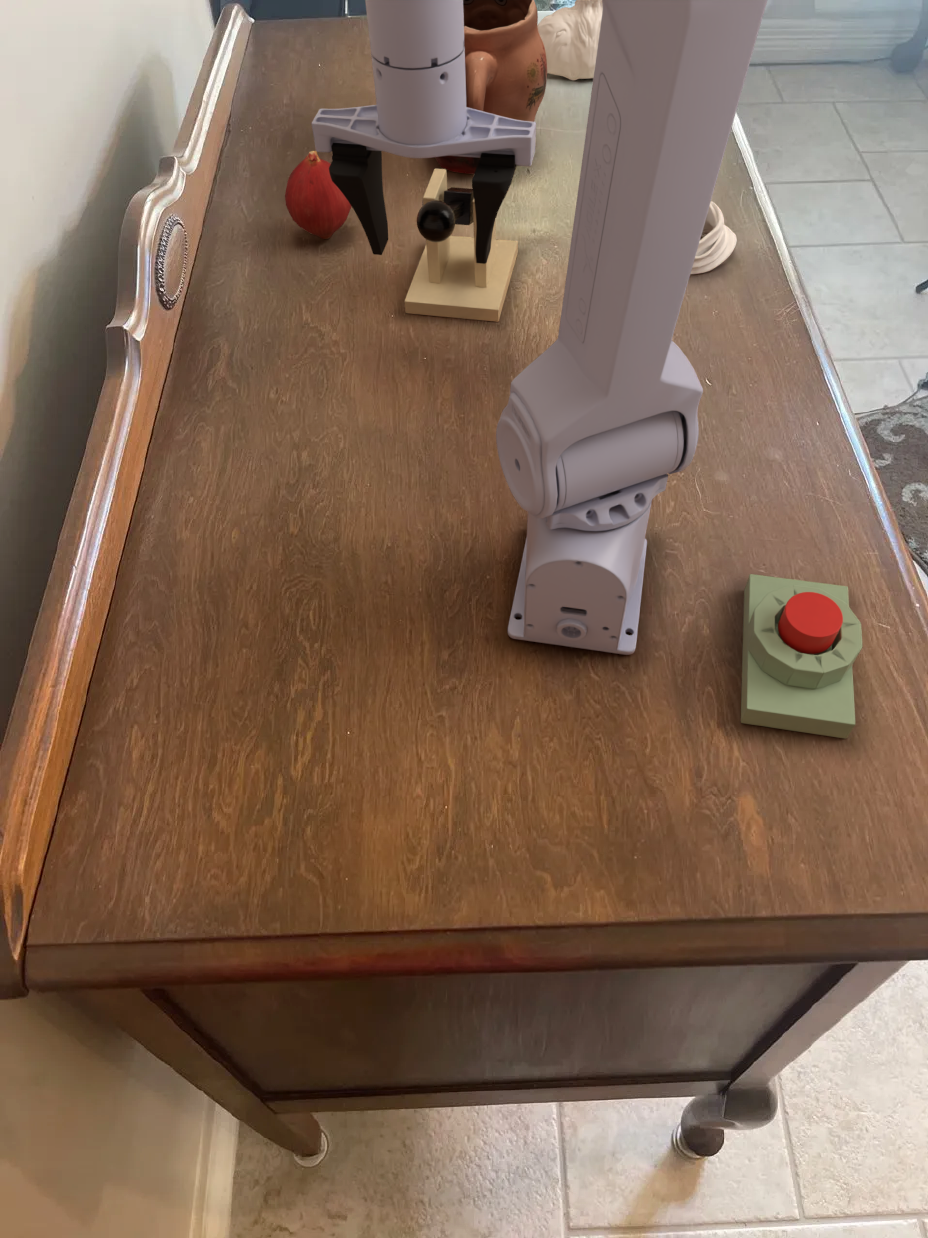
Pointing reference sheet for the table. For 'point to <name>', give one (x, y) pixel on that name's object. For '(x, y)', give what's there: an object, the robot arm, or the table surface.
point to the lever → (446, 214)
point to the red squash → (315, 198)
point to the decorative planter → (501, 64)
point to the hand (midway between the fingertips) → (431, 251)
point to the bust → (572, 39)
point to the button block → (796, 663)
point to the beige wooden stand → (460, 272)
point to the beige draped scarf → (713, 242)
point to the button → (810, 622)
